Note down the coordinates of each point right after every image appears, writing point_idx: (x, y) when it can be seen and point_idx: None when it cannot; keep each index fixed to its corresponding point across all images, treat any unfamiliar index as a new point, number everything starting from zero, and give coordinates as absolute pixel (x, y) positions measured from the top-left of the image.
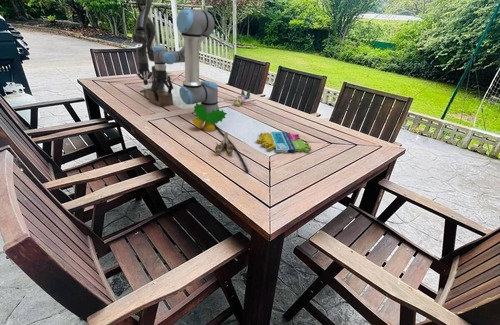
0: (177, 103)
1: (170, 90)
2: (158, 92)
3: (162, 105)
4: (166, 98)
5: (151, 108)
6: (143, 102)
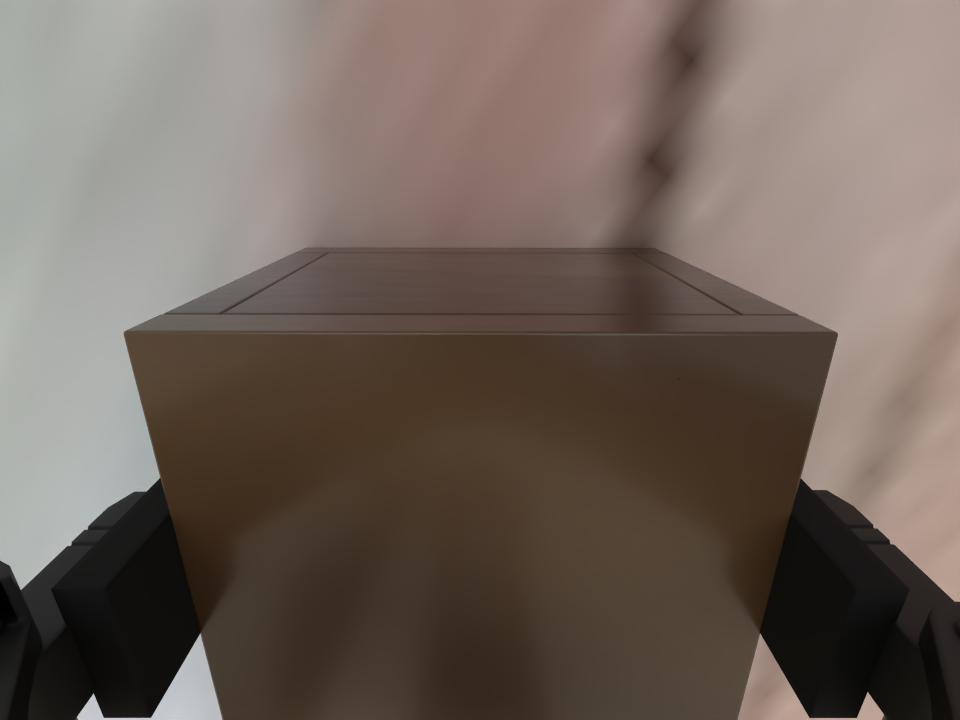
0: (168, 241)
1: (45, 609)
2: (548, 714)
3: (622, 253)
4: (487, 290)
5: (887, 287)
6: None
